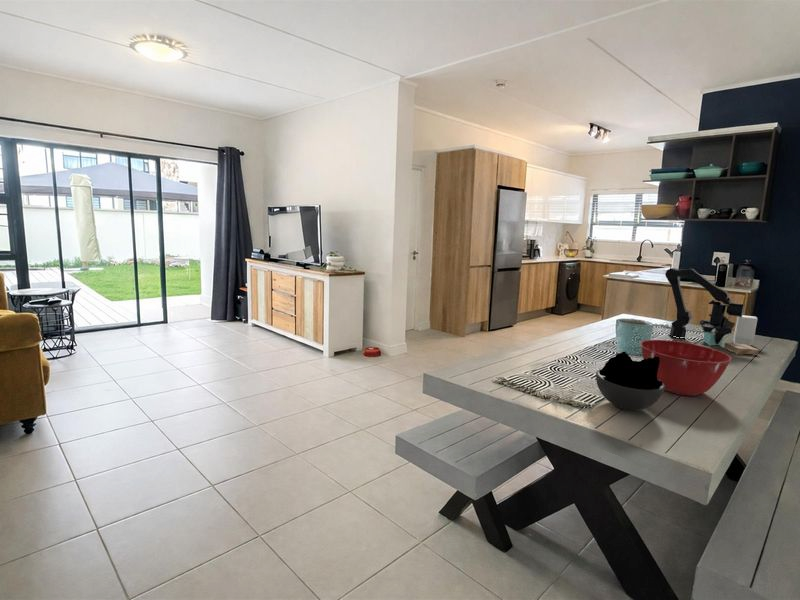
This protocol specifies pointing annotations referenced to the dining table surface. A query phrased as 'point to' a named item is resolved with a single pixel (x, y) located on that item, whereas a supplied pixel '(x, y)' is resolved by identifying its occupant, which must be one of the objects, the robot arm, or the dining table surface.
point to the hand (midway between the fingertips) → (712, 341)
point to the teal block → (710, 338)
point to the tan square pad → (741, 348)
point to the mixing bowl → (686, 365)
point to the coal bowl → (630, 382)
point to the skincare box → (745, 330)
